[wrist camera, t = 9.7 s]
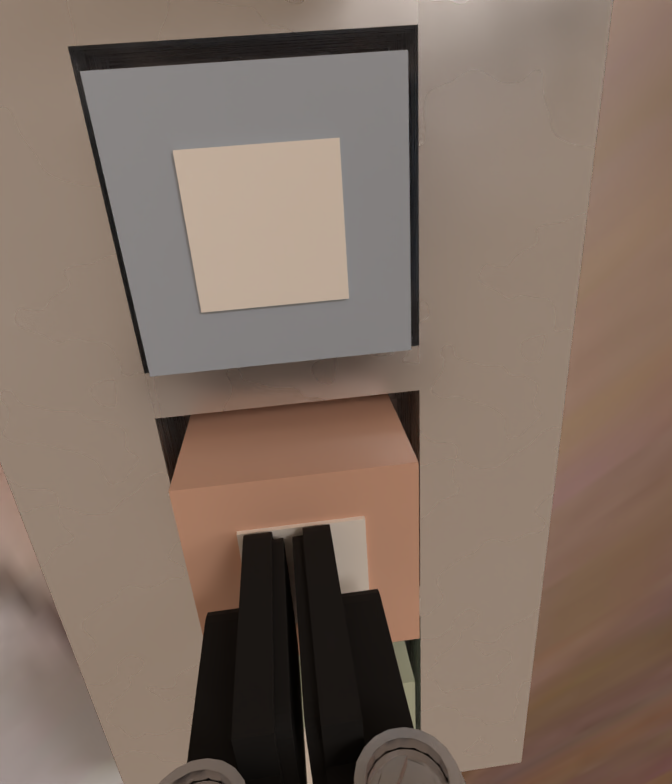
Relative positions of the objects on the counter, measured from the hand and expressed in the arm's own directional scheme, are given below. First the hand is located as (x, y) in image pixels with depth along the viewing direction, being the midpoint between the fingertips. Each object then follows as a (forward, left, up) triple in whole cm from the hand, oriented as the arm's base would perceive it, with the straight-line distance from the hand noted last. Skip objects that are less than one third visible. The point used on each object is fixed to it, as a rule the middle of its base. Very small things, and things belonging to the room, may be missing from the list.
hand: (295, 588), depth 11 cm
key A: (0, 0, -4) cm, 4 cm away
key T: (0, -7, -4) cm, 8 cm away
